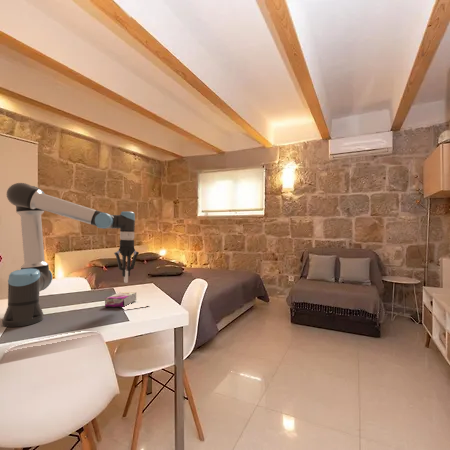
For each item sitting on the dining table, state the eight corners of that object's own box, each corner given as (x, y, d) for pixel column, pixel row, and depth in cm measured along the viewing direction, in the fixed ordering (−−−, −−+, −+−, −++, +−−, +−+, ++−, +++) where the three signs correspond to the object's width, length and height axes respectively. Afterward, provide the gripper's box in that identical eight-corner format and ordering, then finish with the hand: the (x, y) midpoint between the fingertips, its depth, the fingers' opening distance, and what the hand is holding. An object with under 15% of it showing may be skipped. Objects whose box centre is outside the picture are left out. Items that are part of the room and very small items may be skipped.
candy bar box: (104, 297, 149) (118, 292, 166) (104, 307, 149) (118, 300, 165) (124, 297, 148) (136, 292, 165) (124, 307, 148) (136, 300, 164)
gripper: (116, 239, 144) (114, 284, 144) (141, 239, 151) (139, 282, 151) (113, 239, 150) (111, 282, 150) (137, 239, 158) (135, 280, 157)
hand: (125, 282), depth 150 cm, fingers closed
